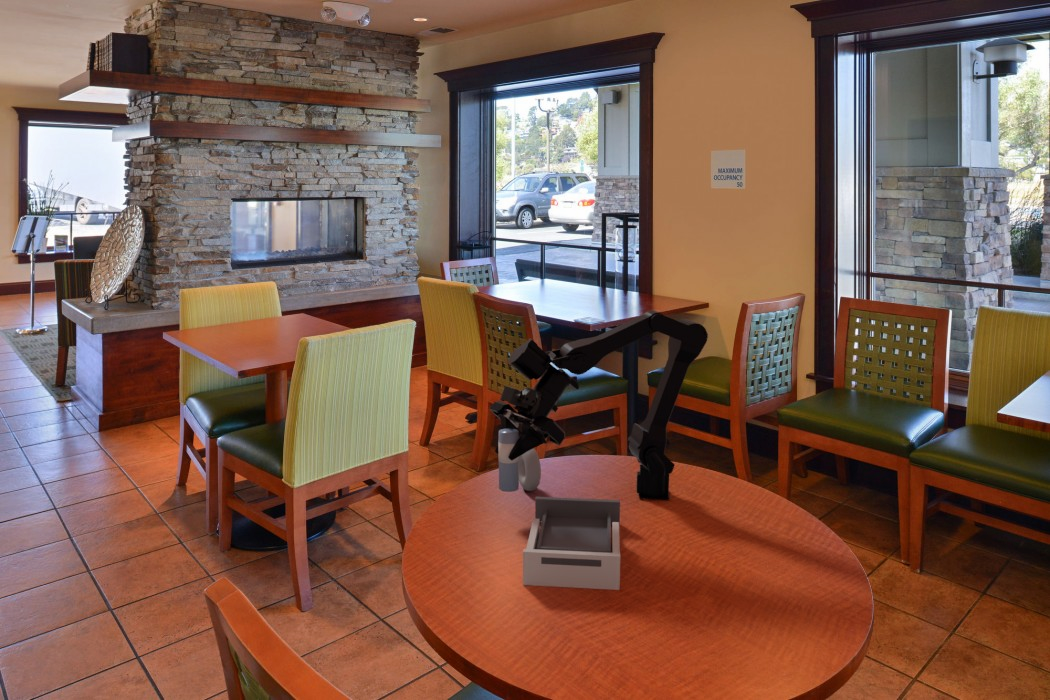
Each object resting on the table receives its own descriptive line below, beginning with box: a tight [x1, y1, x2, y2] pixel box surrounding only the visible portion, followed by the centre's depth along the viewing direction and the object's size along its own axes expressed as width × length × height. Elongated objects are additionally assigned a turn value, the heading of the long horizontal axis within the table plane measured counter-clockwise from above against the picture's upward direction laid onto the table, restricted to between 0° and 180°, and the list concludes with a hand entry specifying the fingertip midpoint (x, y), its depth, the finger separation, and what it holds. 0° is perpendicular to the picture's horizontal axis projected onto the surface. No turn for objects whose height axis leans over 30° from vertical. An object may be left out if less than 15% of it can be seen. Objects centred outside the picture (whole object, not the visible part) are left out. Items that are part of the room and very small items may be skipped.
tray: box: [534, 496, 621, 553], centre depth 149 cm, size 18×17×5 cm
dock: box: [522, 518, 621, 591], centre depth 141 cm, size 18×16×6 cm
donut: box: [519, 448, 542, 492], centre depth 175 cm, size 10×4×10 cm, turn 19°
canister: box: [497, 428, 520, 493], centre depth 159 cm, size 4×4×12 cm
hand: (503, 456), depth 158 cm, fingers closed on canister, 4 cm apart
